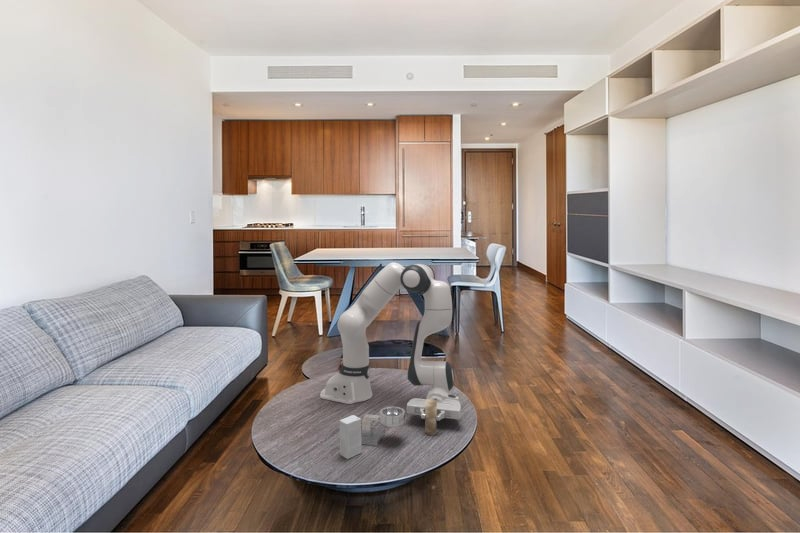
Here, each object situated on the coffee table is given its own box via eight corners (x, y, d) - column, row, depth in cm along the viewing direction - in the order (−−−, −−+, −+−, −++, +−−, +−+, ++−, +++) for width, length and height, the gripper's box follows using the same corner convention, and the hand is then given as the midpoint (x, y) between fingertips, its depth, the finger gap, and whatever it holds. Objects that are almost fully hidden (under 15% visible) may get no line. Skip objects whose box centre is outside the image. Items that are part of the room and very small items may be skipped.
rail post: (424, 434, 165) (424, 402, 164) (426, 429, 169) (426, 398, 168) (435, 436, 164) (435, 403, 163) (437, 430, 168) (437, 399, 167)
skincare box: (353, 448, 156) (353, 414, 154) (361, 453, 153) (361, 418, 151) (339, 454, 151) (338, 419, 150) (347, 459, 148) (347, 424, 147)
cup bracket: (349, 442, 159) (349, 413, 158) (358, 429, 169) (358, 401, 168) (401, 449, 155) (401, 419, 154) (408, 435, 165) (408, 407, 163)
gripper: (410, 391, 181) (402, 406, 167) (463, 397, 176) (458, 412, 162) (410, 407, 181) (402, 422, 168) (462, 413, 177) (458, 429, 163)
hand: (430, 417), depth 165 cm, fingers closed on rail post, 4 cm apart
